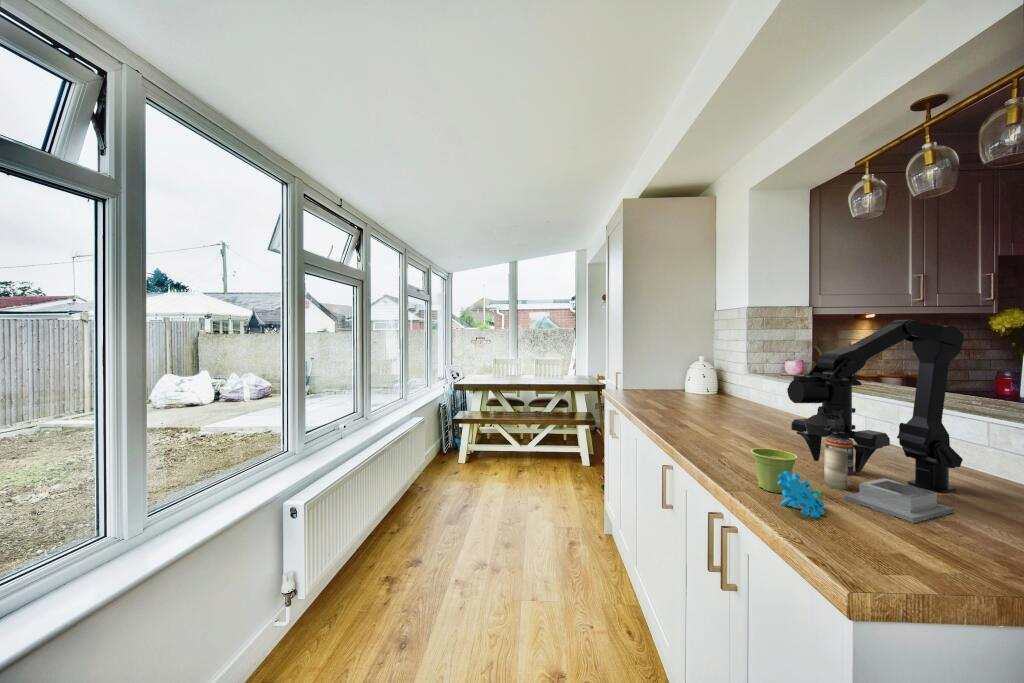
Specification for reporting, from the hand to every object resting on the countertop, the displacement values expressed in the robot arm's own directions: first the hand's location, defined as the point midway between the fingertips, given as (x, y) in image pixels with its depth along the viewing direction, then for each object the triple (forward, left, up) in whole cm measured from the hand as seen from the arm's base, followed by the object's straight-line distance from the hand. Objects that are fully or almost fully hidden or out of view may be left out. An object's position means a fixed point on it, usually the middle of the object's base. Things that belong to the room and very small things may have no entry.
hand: (836, 466), depth 97 cm
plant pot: (+16, -4, -5) cm, 17 cm away
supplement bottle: (-13, -7, -5) cm, 16 cm away
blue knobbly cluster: (+22, +7, -5) cm, 24 cm away
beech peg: (0, 0, -5) cm, 5 cm away
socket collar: (0, +12, -4) cm, 13 cm away
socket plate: (0, +12, -5) cm, 13 cm away
